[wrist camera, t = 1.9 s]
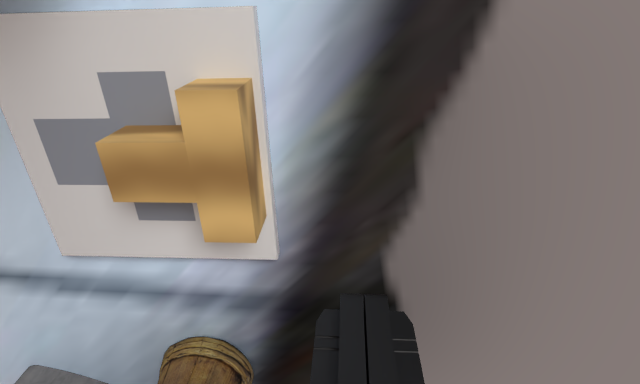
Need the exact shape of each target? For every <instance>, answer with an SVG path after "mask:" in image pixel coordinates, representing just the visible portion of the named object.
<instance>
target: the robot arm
mask: <svg viewBox="0 0 640 384" xmlns="http://www.w3.org/2000/svg"><path fill="white" fill-rule="evenodd" d="M310 384H425V383H424V378H423V373H422V368H421V363H420V358H419V354H418V348H417V343H416V338H415V333H414V328H413V324H412V322H411V321H410V320H409V318H408V317H407V315H406V314H405V313H404V312H398V311H389V306H388V298H387V295H386V294H364V312H363V294H346V293H341V298H340V310H328V309H324V311H323V312H322V314H321V315H320V317H319V318H318V320H317V322H316V332H315V341H314V351H313V360H312V370H311V380H310Z"/></svg>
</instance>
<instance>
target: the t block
mask: <svg viewBox="0 0 640 384" xmlns="http://www.w3.org/2000/svg"><path fill="white" fill-rule="evenodd" d="M174 91H175V96H176V101H177V106H178V111H179V116H180V121H181V125H129V126H124V127H123V128H121V129H119V130H117V131H115V132H114V133H112V134H110V135H108V136H106V137H105V138H103V139H101V140H99V141H98V142H96V143H95V144H96V148H97V151H98V154H99V157H100V160H101V164H102V167H103V170H104V173H105V176H106V179H107V183H108V186H109V189H110V192H111V195H112V199H113V202H164V203H197V206H198V211H199V216H200V221H201V226H202V231H203V236H204V241H205V242H221V243H257V240H258V237H259V235H260V232H261V230H262V227H263V224H264V222H265V219H266V216H267V215H266V206H265V196H264V187H263V177H262V168H261V159H260V149H259V140H258V131H257V121H256V112H255V103H254V93H253V84H252V78H211V79H196V80H194V81H192V82H190V83H188V84H186V85H184V86H182V87H180V88H178V89H176V90H174Z"/></svg>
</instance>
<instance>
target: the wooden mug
mask: <svg viewBox="0 0 640 384" xmlns="http://www.w3.org/2000/svg"><path fill="white" fill-rule="evenodd" d="M253 376H254V374H253V369H252V367H251V365H250V363H249V361H248V360H247V358H246V357H245V356H244V355H243V353H242V352H240V351H239V350H238V349H237V348H235V347H234V346H233V345H231V344H229V343H227V342H225V341H223V340H218V339H213V338H208V337H192V338H187V339H185V340H182V341H180V342H178V343H176V344H174V345H172V346H170V347H169V348H168V350H167V351H166V353H165V354H164V358H163V361H162V365H161V368H160V375H159V381H158V384H251V383H252V381H253Z"/></svg>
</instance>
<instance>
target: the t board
mask: <svg viewBox="0 0 640 384" xmlns="http://www.w3.org/2000/svg"><path fill="white" fill-rule="evenodd" d="M211 78H252V84H253V93H254V103H255V112H256V121H257V131H258V140H259V149H260V159H261V168H262V177H263V187H264V196H265V206H266V215H267V216H266V219H265V222H264V224H263V227H262V230H261V232H260V235H259V237H258V240H257V243H221V242H205V241H204V236H203V231H202V226H201V221H200V216H199V211H198V206H197V203H164V202H113V199H112V195H111V192H110V189H109V186H108V183H107V179H106V176H105V173H104V170H103V167H102V164H101V160H100V157H99V154H98V151H97V148H96V144H95V143H96V142H98V141H99V140H101V139H103V138H105V137H106V136H108V135H110V134H112V133H114V132H115V131H117V130H119V129H121V128H123V127H124V126H129V125H181V121H180V116H179V111H178V106H177V101H176V96H175V91H174V90H176V89H178V88H180V87H182V86H184V85H186V84H188V83H190V82H192V81H194V80H196V79H211ZM0 107H1V109H2V112H3V114H4V116H5V119H6V121H7V124H8V126H9V129H10V131H11V133H12V136H13V138H14V141H15V143H16V145H17V148H18V150H19V153H20V155H21V158H22V160H23V162H24V165H25V167H26V170H27V172H28V174H29V177H30V179H31V182H32V184H33V186H34V189H35V191H36V194H37V196H38V199H39V201H40V203H41V206H42V208H43V211H44V213H45V215H46V218H47V220H48V223H49V225H50V228H51V230H52V232H53V235H54V237H55V240H56V242H57V244H58V247H59V249H60V252H61V254H62V256H111V257H162V258H212V259H263V260H278V256H279V253H280V251H279V241H278V230H277V219H276V208H275V198H274V187H273V176H272V166H271V155H270V144H269V133H268V123H267V112H266V101H265V91H264V80H263V69H262V59H261V48H260V37H259V26H258V16H257V6H236V7H203V8H171V9H138V10H106V11H74V12H41V13H9V14H0Z"/></svg>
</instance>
